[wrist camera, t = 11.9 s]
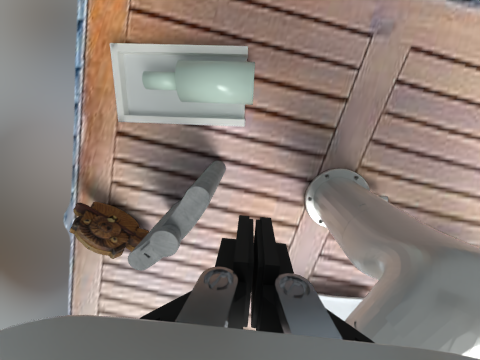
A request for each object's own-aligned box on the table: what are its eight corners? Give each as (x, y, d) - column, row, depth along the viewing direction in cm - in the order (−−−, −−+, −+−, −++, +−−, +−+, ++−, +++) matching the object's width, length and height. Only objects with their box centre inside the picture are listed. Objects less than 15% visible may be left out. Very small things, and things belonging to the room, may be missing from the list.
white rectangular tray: (248, 50, 39) (247, 46, 36) (245, 126, 42) (244, 126, 40) (118, 47, 40) (109, 43, 37) (125, 121, 43) (118, 121, 41)
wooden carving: (163, 227, 49) (141, 254, 39) (154, 243, 50) (131, 273, 40) (94, 190, 47) (54, 209, 38) (87, 207, 48) (46, 229, 39)
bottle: (255, 54, 33) (136, 51, 33) (252, 99, 34) (136, 95, 34) (254, 70, 39) (154, 67, 40) (252, 108, 40) (154, 104, 41)
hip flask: (217, 157, 44) (190, 187, 25) (232, 171, 45) (217, 210, 25) (168, 210, 48) (112, 272, 28) (183, 222, 48) (137, 291, 29)
